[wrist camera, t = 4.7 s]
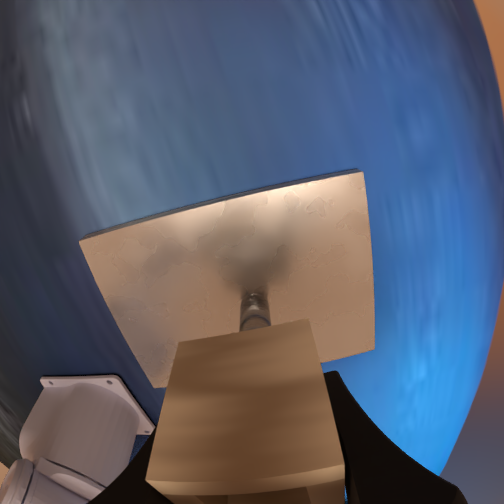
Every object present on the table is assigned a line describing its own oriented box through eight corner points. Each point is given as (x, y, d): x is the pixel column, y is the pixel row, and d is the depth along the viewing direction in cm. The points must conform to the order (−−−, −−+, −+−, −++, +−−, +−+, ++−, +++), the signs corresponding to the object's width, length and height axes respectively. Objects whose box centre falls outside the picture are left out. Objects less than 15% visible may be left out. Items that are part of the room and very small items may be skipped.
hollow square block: (217, 416, 14) (209, 528, 8) (178, 342, 12) (145, 480, 6) (321, 399, 13) (344, 514, 8) (308, 317, 11) (344, 463, 6)
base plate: (156, 378, 22) (141, 432, 17) (85, 235, 17) (41, 275, 12) (370, 340, 21) (394, 393, 16) (356, 168, 16) (398, 191, 11)
